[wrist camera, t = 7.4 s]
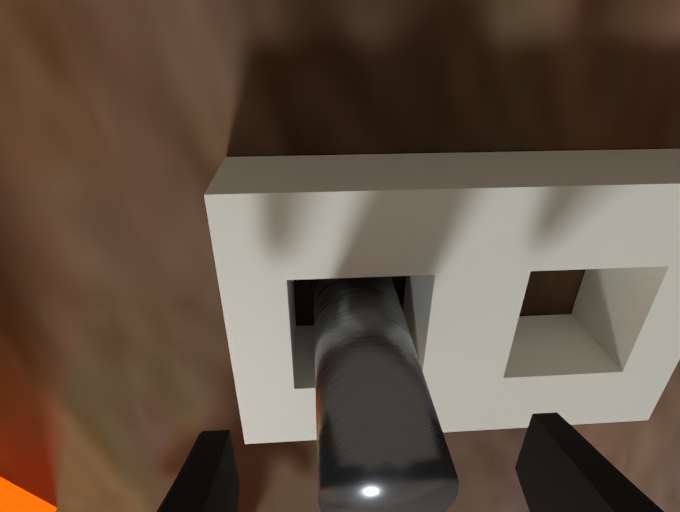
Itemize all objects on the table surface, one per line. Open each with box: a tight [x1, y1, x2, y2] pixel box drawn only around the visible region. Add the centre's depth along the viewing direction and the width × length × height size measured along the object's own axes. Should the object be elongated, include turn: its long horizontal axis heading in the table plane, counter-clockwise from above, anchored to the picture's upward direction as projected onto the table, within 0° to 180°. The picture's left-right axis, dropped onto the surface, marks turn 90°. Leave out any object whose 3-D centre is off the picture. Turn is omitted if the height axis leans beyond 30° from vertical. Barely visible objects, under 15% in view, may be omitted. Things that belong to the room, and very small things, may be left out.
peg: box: [313, 276, 459, 512], centre depth 13 cm, size 3×3×9 cm
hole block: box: [204, 149, 680, 444], centre depth 16 cm, size 16×10×4 cm, turn 90°
